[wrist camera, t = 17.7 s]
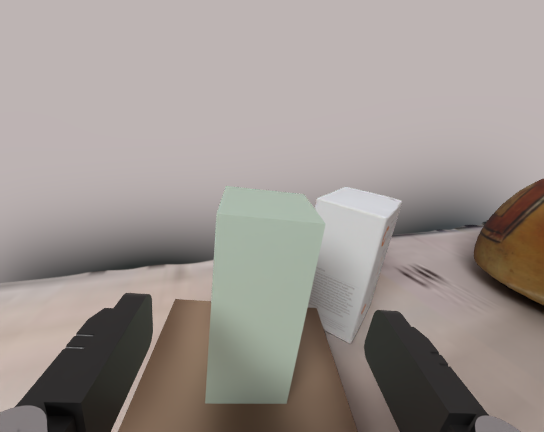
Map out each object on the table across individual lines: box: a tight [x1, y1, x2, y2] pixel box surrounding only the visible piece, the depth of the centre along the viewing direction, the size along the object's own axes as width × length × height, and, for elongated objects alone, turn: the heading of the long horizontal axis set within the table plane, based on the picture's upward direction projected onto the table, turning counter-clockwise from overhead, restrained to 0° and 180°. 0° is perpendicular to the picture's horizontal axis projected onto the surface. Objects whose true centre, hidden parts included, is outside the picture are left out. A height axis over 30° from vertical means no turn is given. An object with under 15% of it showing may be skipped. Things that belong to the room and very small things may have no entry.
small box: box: [308, 187, 402, 343], centre depth 27 cm, size 8×6×13 cm
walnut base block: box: [118, 299, 358, 432], centre depth 17 cm, size 12×12×4 cm
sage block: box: [205, 186, 326, 404], centre depth 15 cm, size 4×4×11 cm
